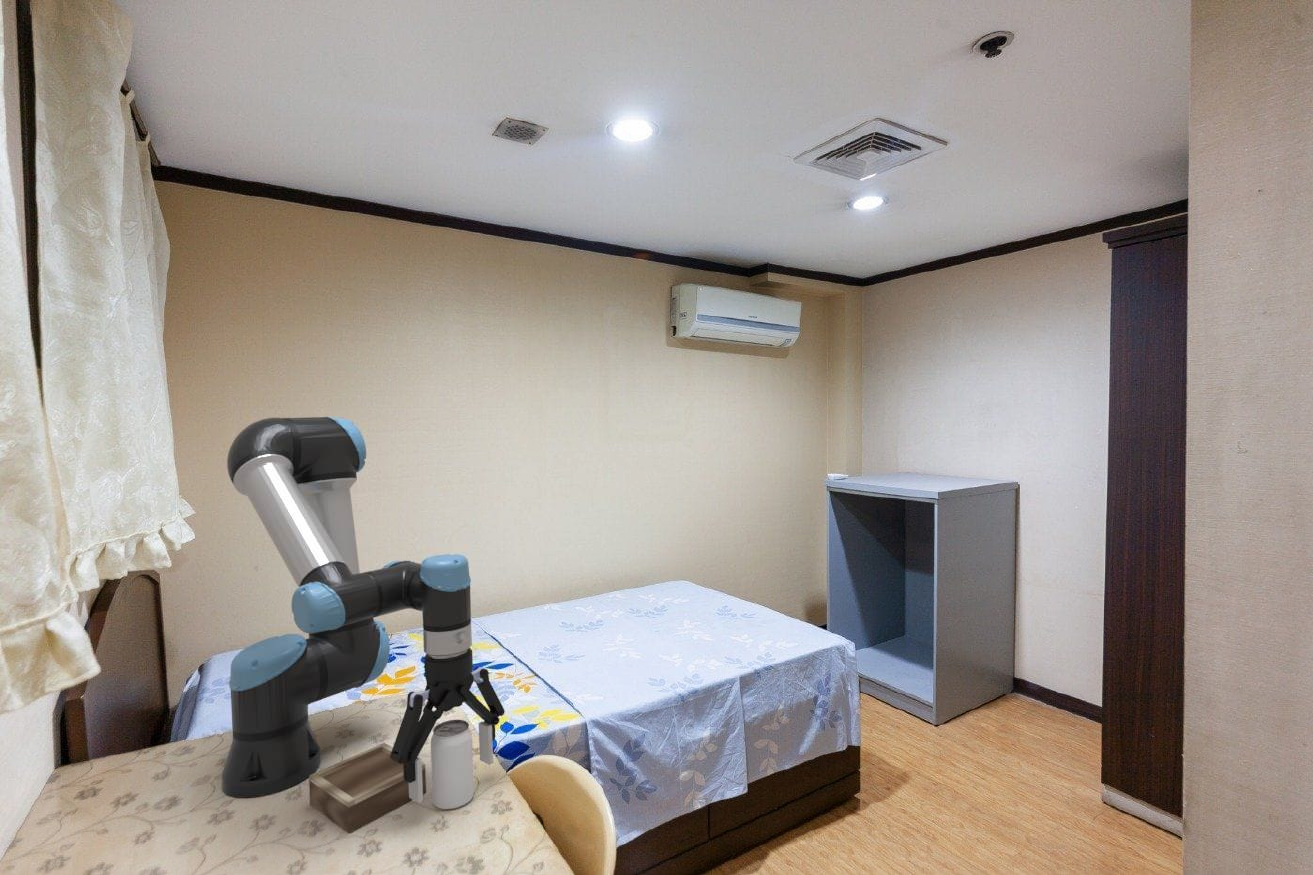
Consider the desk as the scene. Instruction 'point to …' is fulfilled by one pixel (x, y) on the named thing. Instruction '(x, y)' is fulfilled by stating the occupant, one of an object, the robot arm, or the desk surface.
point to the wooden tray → (361, 788)
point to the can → (452, 764)
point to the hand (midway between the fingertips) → (453, 779)
